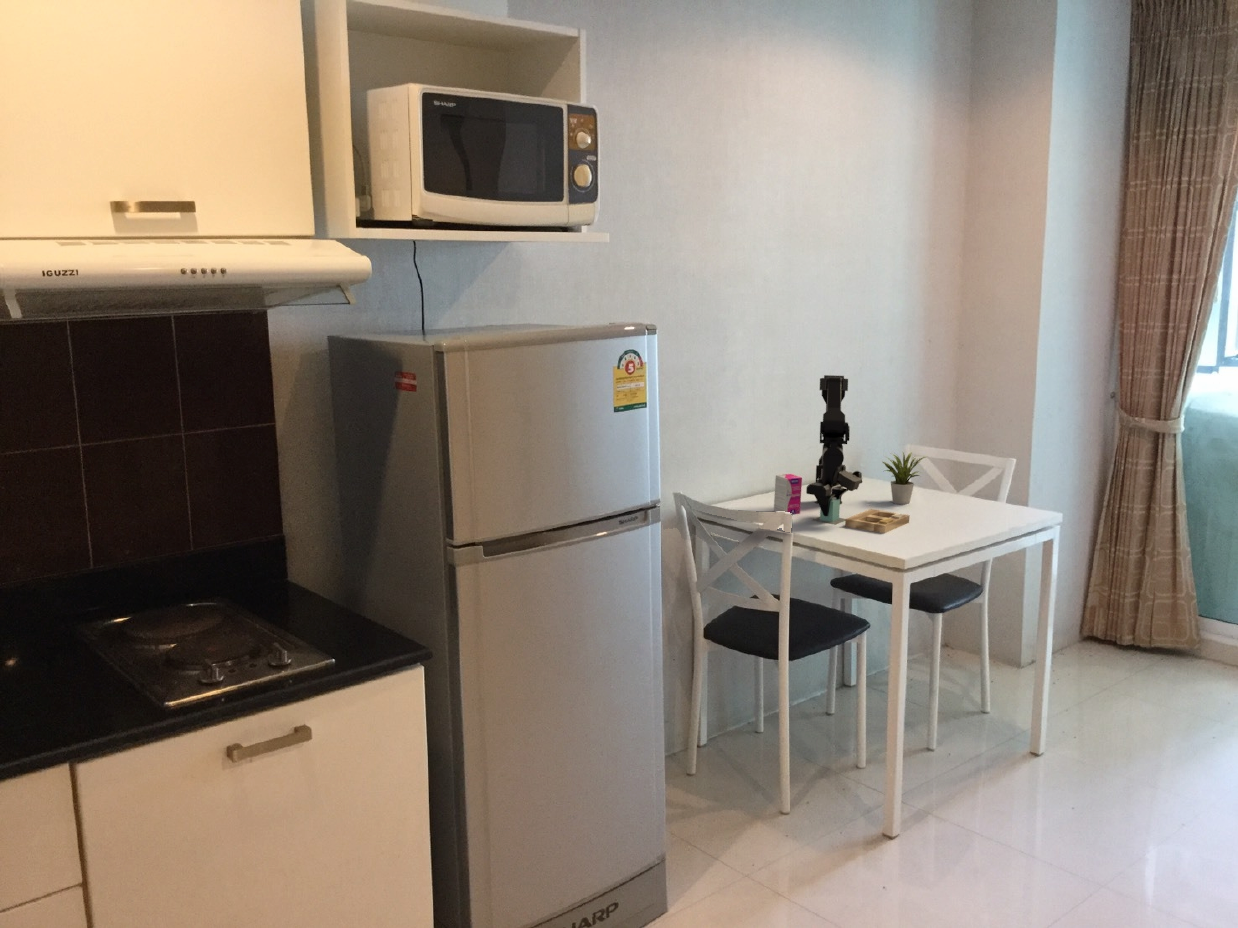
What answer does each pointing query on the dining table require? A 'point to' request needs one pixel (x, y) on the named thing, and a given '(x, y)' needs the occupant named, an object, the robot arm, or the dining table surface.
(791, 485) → the supplement box
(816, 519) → the mat
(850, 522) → the socket block
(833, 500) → the plug
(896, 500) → the house plant
